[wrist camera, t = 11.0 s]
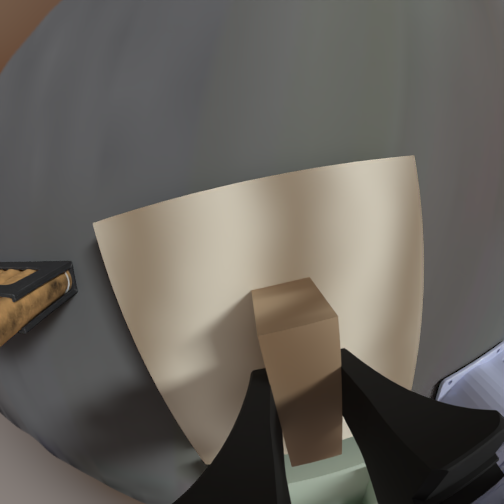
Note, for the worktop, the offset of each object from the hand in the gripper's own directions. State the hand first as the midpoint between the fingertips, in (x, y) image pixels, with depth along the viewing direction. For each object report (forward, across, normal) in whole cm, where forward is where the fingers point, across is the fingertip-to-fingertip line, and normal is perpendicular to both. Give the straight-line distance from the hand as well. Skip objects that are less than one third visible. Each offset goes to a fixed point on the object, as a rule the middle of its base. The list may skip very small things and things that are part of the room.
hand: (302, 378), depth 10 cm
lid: (+3, 0, +1) cm, 3 cm away
